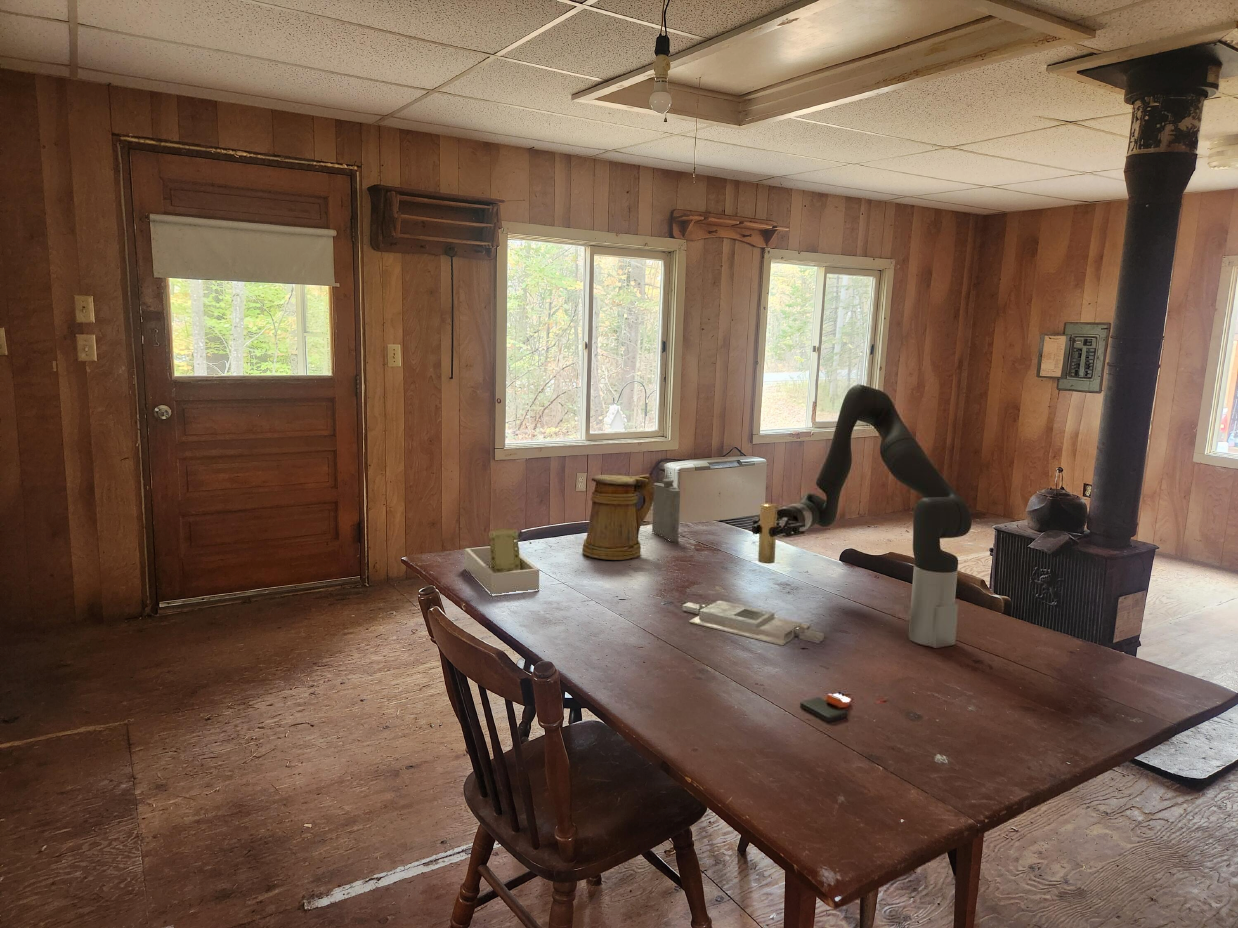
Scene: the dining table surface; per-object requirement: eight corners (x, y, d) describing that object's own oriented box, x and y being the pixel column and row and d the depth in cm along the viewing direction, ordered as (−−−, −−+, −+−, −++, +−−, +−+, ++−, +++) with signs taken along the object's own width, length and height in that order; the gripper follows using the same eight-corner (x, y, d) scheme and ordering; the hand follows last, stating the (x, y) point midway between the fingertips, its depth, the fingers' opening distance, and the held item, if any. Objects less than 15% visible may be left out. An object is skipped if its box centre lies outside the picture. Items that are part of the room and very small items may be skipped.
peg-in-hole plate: (833, 631, 189) (834, 621, 189) (807, 651, 176) (807, 641, 176) (701, 601, 209) (701, 592, 209) (668, 617, 196) (668, 607, 196)
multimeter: (855, 683, 161) (856, 667, 161) (901, 707, 151) (902, 690, 150) (783, 700, 153) (784, 683, 153) (826, 727, 142) (827, 709, 142)
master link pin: (777, 562, 196) (780, 506, 194) (764, 564, 194) (766, 507, 192) (768, 558, 200) (771, 503, 198) (754, 559, 198) (757, 504, 196)
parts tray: (539, 591, 214) (539, 569, 213) (491, 596, 209) (491, 574, 208) (508, 564, 240) (508, 544, 239) (465, 568, 234) (464, 548, 233)
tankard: (573, 549, 259) (574, 472, 255) (638, 543, 269) (640, 469, 265) (596, 564, 242) (597, 482, 239) (664, 556, 253) (667, 478, 249)
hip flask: (650, 531, 286) (652, 476, 283) (660, 531, 287) (662, 475, 284) (671, 542, 271) (673, 483, 268) (682, 541, 273) (684, 483, 270)
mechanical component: (522, 596, 228) (517, 527, 233) (521, 591, 212) (516, 516, 216) (495, 599, 227) (490, 529, 232) (492, 594, 211) (487, 519, 215)
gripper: (767, 501, 211) (736, 512, 197) (819, 509, 203) (791, 520, 189) (766, 529, 212) (735, 541, 198) (817, 538, 204) (789, 551, 190)
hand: (762, 531), depth 194 cm, fingers closed on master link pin, 4 cm apart
